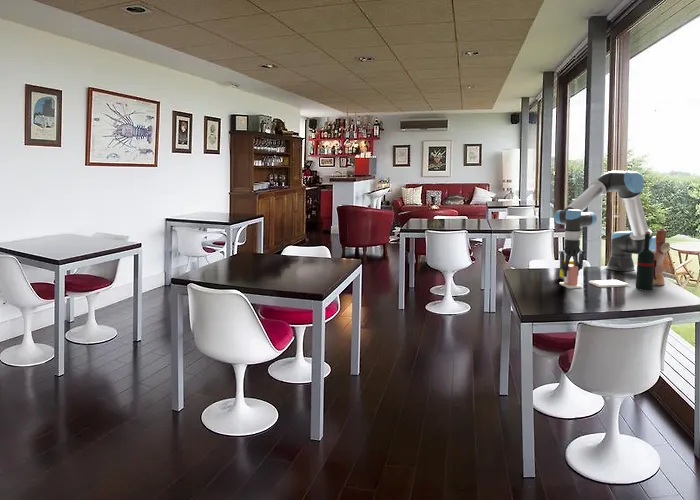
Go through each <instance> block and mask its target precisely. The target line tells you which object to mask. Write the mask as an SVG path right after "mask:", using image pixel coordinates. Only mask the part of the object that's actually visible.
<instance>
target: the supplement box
mask: <svg viewBox="0 0 700 500" xmlns="http://www.w3.org/2000/svg"><path fill="white" fill-rule="evenodd" d="M564 263H565V259H564ZM569 264H572V265H574V260H572V259H570V261H569ZM559 279H561V280H562V281H564V276H563V270H562V269H560V268H559Z"/></svg>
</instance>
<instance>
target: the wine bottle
mask: <svg viewBox="0 0 700 500" xmlns="http://www.w3.org/2000/svg"><path fill="white" fill-rule="evenodd" d="M649 241H650V232H649V231H645V244H644V250H642V251H640V252H639V254H637V264H636V276H635V290H639V291H644V290H646V291H652V290H653V288H654V285H653V277H654V279H656V277H655V267H656V262H657V261H656V260H654V256H655V255H654V253H653V252H652V251H650V250H649ZM646 291H645V292H646Z"/></svg>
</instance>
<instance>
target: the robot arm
mask: <svg viewBox="0 0 700 500" xmlns="http://www.w3.org/2000/svg"><path fill="white" fill-rule="evenodd" d="M644 187H645V179H644V177H643V175H642V174H641V172H638V171H633V170H628V171H627V170H625V171H624V170H611V171H607V172H606V173H603V174H601V175H599V176H598V177H597V178H596V179H594V180H593V181H591V183H590V186H589V187H588V188H587V189H585V190H584V191H583V192H582V193H581V194H580V195H579V196H578V197H576V198H575V199H574V200H573V201H572V202H570V203H569V205H567V206H566V207H565V208H564V209H563V210H562V209H559V210H556V211H555V212H554V214H553V220H554V222H555V223H556V224H559V225H560V224H561V225H565V232H564V238H565V239H564V248H563V250H559V251H558V253H559V270H560V269H562V270H563V276H564V277H565V280H563V282H565V283H568V277H569V271H567V270H568V265H569V261H570V260H571V259H573V260H572V261H574V265H575V266H578V275H579V271H580V270H582V269H583V266H584V255H585V250H583V249H581V247H580V245H581V229H582V227H583V228H584V227H590V226H594V225H595V224H596V223H597V221H598V218H597V217H598V216H597V215H596V213H595V212H592V211H585V210H586V209H587V208H588V207H589V206H590V205H592V203H593V202H594V201H596V200H597V199H598V198H599V197H600V196H604V195H605V194H607V193H609V192H615V193H616V192H617V194H618V196H619V198H620V199H621V200H622V201H623V205H624V208H625V211H626V215H627V219H628V223H629V227H630V230H628V231H627V230H625V231H624V230H623V231H615V232H613V233H612V234H611V243H610V244H611V245H610V257H609V259H608V262H607V263H606V269H607V270H611V271H618V272H633V271H635V264H634V260H633V254H634V255H638V254H639V252H640V251H642V250H644V244H645V231H649V232H650V241H649V250H650V251H652V250H655V251H656V235H653V232H652V230H651V229H649V226H648V224H647V219H646V215H645V212H644V208H643V204H642V199H641V196H640V195H641V194H642V191H643V189H644ZM564 260H565V263H564Z"/></svg>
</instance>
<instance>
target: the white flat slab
mask: <svg viewBox="0 0 700 500" xmlns="http://www.w3.org/2000/svg"><path fill="white" fill-rule="evenodd" d="M588 284H590V285H592V286H596V287H598V288H615V287H617V288H618V287H629V286H630V285H629V283H627V282H624V281H621V280H618V279H605V280H589V281H588Z"/></svg>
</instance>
